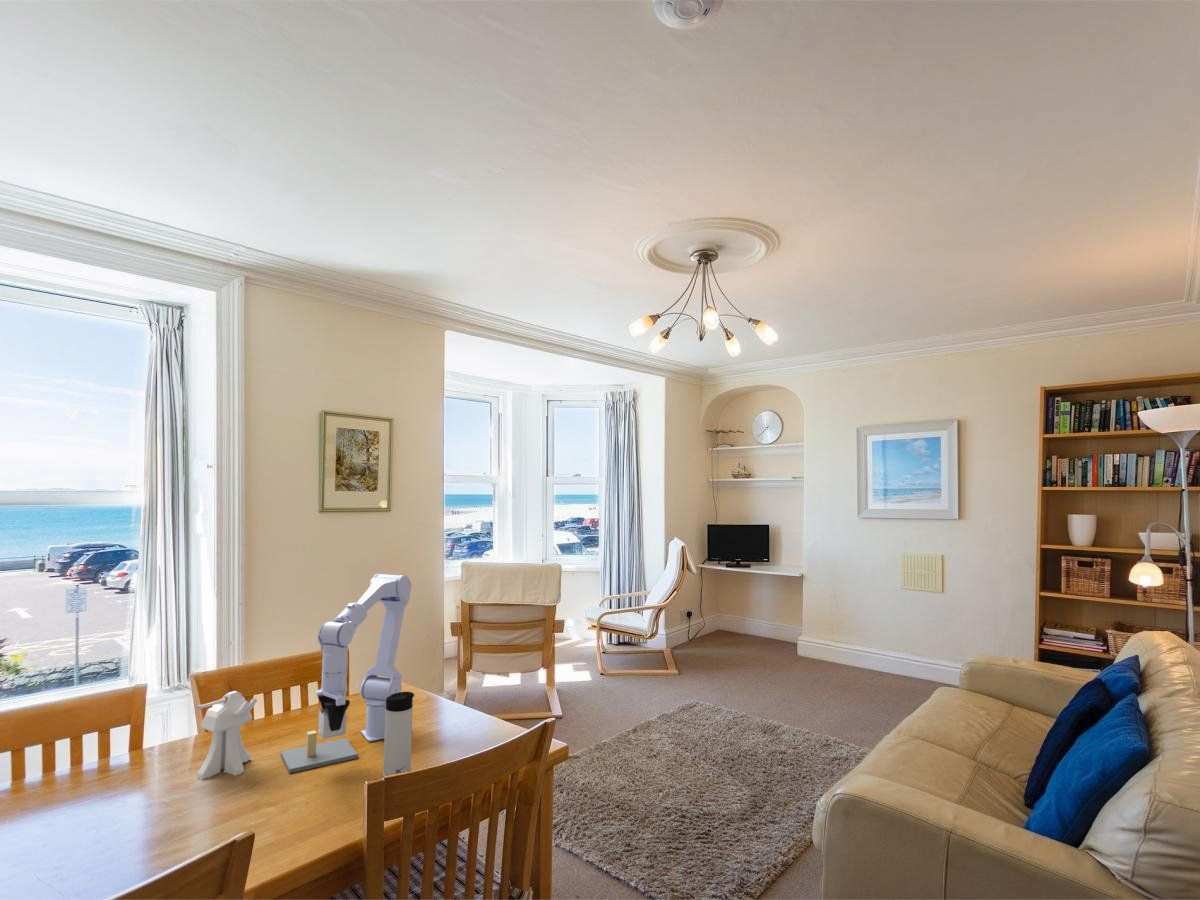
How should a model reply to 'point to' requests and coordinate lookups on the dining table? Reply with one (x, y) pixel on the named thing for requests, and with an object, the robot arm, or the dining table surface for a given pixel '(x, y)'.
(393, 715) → the travel mug
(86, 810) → the dining table surface
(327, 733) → the block
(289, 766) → the board
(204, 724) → the white mech figurine
